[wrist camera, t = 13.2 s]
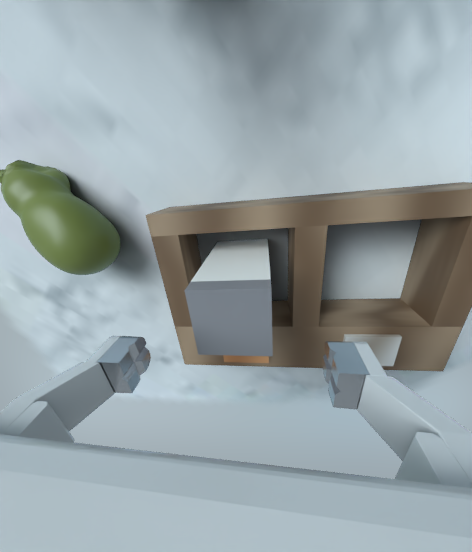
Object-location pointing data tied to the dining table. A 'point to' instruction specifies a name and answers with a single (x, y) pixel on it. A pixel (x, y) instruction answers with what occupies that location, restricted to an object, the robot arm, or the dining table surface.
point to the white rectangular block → (233, 300)
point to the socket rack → (310, 266)
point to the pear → (59, 219)
